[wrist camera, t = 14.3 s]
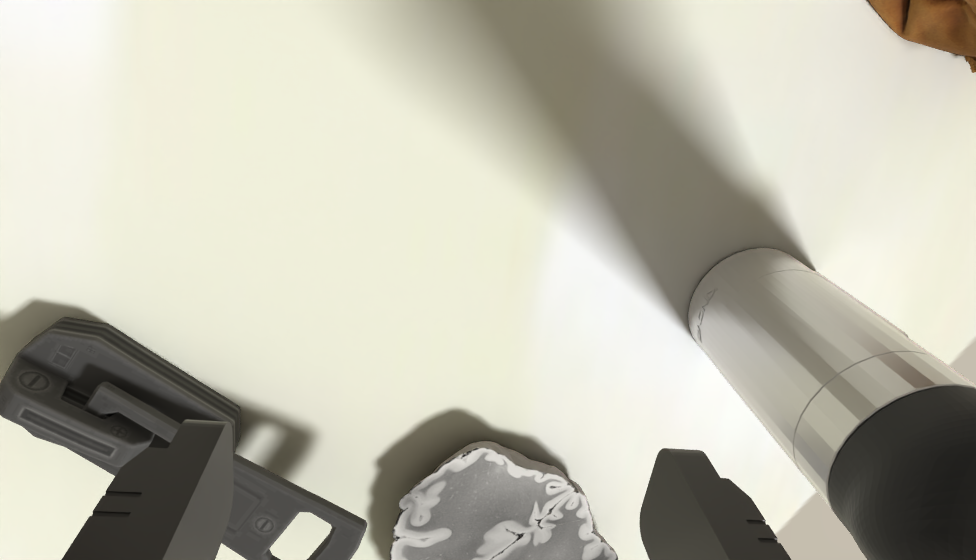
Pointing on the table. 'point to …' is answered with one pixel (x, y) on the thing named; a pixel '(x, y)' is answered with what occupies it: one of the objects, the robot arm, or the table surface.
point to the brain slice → (496, 512)
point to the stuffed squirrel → (934, 23)
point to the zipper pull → (151, 426)
